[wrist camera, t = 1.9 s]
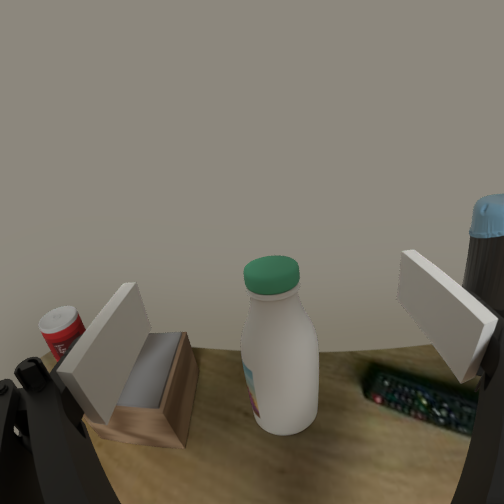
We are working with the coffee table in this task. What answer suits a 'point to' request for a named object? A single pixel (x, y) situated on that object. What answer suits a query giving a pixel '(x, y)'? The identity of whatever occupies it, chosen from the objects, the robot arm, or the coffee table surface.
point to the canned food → (61, 329)
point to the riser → (156, 395)
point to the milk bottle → (279, 348)
